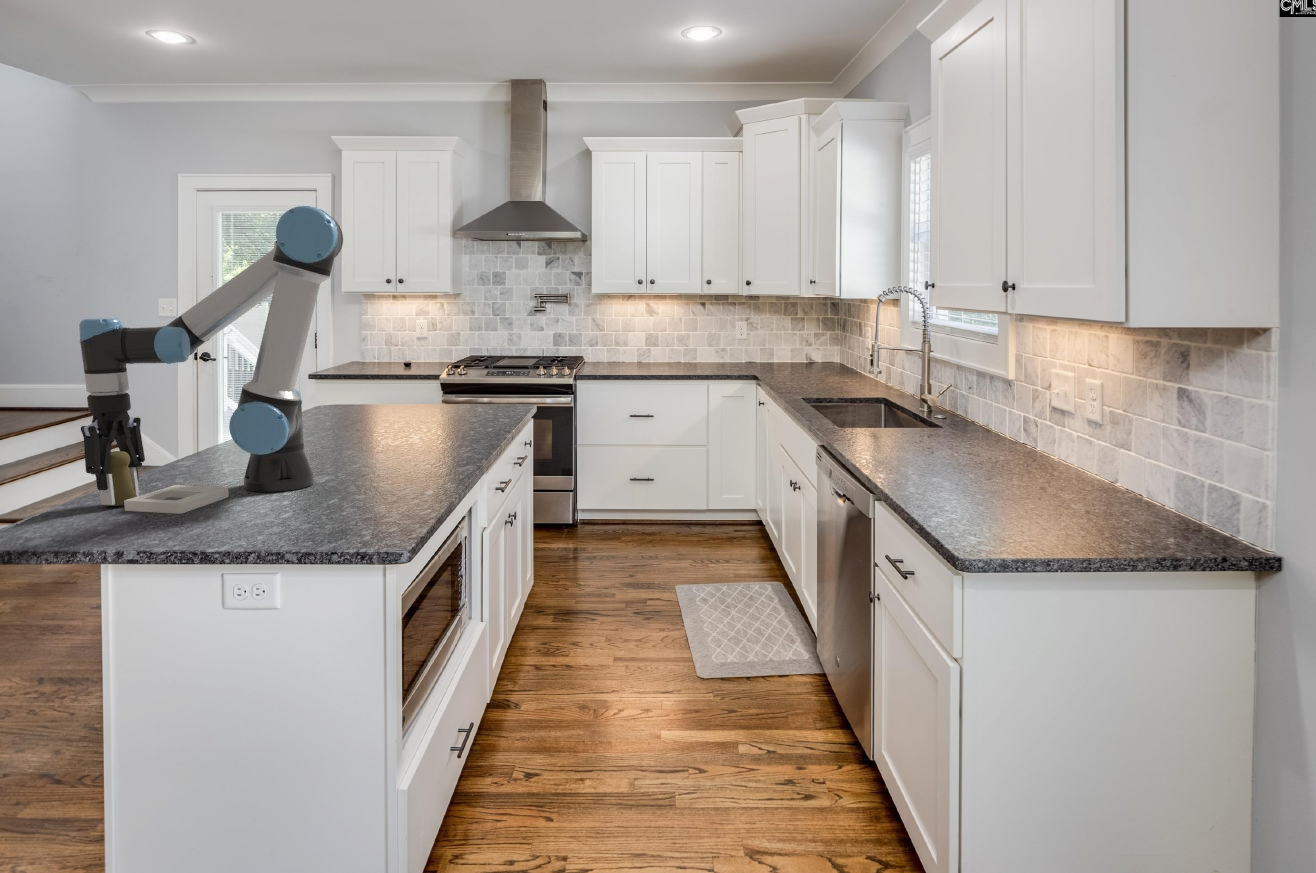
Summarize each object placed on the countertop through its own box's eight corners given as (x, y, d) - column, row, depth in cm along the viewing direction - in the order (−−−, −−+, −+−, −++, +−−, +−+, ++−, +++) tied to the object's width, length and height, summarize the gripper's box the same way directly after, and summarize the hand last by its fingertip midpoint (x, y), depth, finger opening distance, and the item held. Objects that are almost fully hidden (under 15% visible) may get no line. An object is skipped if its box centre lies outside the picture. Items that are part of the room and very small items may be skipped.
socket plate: (176, 494, 191) (175, 484, 191) (228, 497, 189) (228, 487, 189) (125, 510, 176) (124, 500, 176) (181, 513, 174) (180, 503, 174)
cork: (98, 506, 178) (92, 455, 176) (111, 499, 184) (105, 449, 182) (130, 505, 179) (124, 453, 177) (141, 498, 185) (136, 448, 183)
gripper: (127, 387, 187) (138, 490, 191) (53, 398, 169) (67, 511, 172) (157, 388, 186) (168, 491, 190) (86, 398, 167) (100, 512, 171)
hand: (120, 500), depth 181 cm, fingers closed on cork, 6 cm apart
